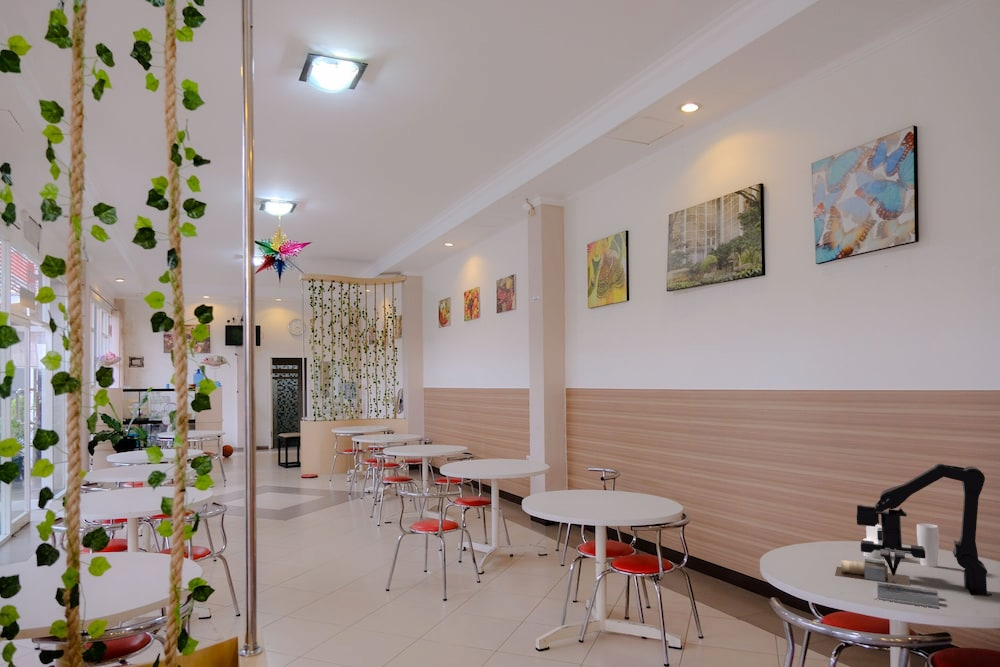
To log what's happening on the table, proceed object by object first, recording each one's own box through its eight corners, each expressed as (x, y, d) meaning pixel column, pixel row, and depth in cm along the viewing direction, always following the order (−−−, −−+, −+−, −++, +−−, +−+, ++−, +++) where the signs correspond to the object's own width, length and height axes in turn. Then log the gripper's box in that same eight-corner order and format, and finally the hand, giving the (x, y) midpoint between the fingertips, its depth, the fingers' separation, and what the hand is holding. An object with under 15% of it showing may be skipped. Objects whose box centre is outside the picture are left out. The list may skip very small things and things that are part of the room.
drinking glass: (944, 570, 236) (942, 527, 237) (925, 570, 236) (923, 527, 237) (932, 564, 243) (931, 523, 244) (913, 564, 243) (912, 523, 244)
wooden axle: (887, 575, 227) (887, 564, 227) (887, 579, 223) (887, 567, 223) (841, 569, 234) (841, 558, 234) (841, 573, 230) (840, 561, 230)
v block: (937, 600, 206) (936, 590, 206) (939, 609, 198) (939, 599, 198) (877, 591, 214) (877, 582, 214) (877, 600, 206) (877, 590, 206)
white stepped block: (895, 560, 249) (894, 527, 250) (871, 560, 249) (870, 527, 250) (882, 553, 258) (881, 522, 259) (858, 553, 258) (857, 522, 259)
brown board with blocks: (909, 578, 227) (908, 563, 227) (910, 588, 216) (909, 573, 217) (837, 569, 238) (836, 555, 238) (834, 578, 227) (834, 563, 228)
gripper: (922, 526, 227) (924, 572, 226) (860, 520, 237) (862, 565, 236) (924, 533, 218) (926, 581, 217) (859, 527, 227) (861, 573, 226)
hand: (893, 575), depth 224 cm, fingers closed
